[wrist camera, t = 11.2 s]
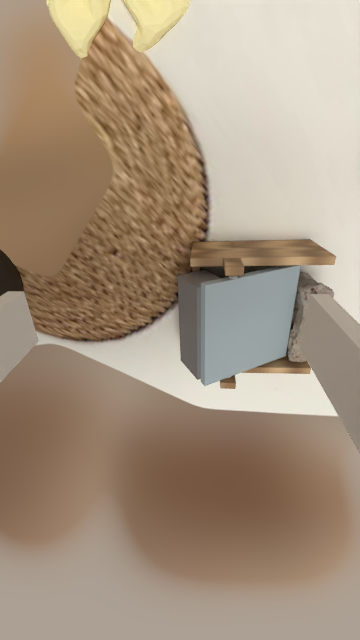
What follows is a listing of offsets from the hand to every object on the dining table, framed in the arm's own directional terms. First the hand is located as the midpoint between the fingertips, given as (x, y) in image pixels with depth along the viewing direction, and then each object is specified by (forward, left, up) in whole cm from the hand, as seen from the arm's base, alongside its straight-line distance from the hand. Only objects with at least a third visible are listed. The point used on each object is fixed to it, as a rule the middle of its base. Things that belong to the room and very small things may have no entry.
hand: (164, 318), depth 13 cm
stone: (+14, -13, -26) cm, 33 cm away
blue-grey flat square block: (+5, -12, -26) cm, 29 cm away
